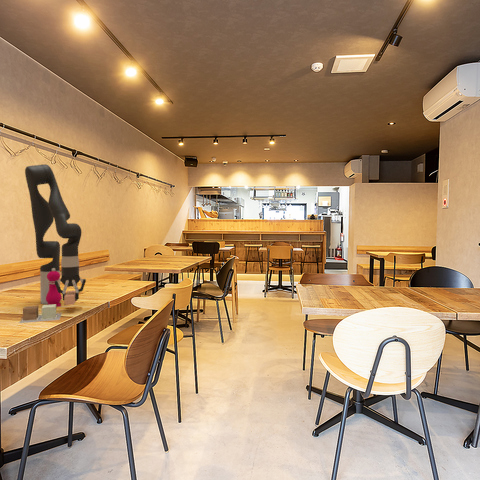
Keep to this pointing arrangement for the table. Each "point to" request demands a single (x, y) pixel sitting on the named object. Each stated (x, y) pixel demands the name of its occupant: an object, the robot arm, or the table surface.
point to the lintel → (69, 298)
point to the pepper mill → (53, 289)
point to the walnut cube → (30, 313)
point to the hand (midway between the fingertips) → (70, 300)
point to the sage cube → (48, 311)
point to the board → (42, 319)
